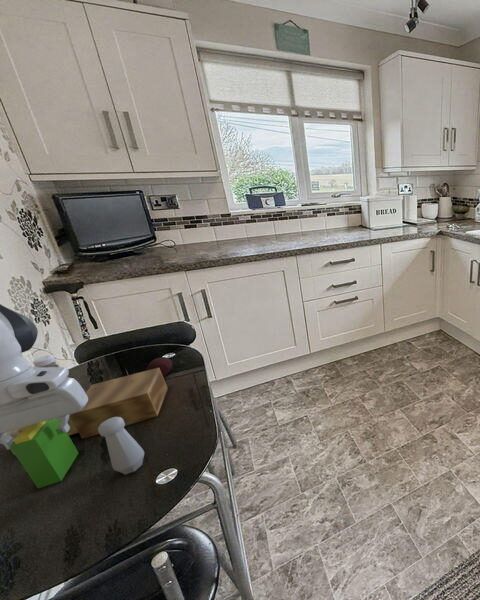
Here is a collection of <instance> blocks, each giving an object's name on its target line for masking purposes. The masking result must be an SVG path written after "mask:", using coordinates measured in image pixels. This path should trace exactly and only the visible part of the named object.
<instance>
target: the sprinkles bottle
mask: <svg viewBox="0 0 480 600" xmlns="http://www.w3.org/2000/svg"><path fill="white" fill-rule="evenodd" d="M32 364H33V365H34V366H33V367H47V366H51V365H58V364H57V361H56V358H55V356H54V355H53V354H48V355H44V356H43V355H42V356H40V357H38V358H36V359H33V361H32Z"/></svg>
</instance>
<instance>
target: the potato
mask: <svg viewBox="0 0 480 600" xmlns="http://www.w3.org/2000/svg"><path fill="white" fill-rule="evenodd" d="M155 368H160V371H161V373H162V375H163V378H165V377H166V376H167V375H168V374H169V373H170V372H171V370H172V369H173V360H171V359H170V358H168V357H165V356H161V357H156V358H154V359H153V360H151V361H150V362H149V363H148V365H147V367H146V370H145V371H148V370H151V369H155Z"/></svg>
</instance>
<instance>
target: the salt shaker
mask: <svg viewBox="0 0 480 600" xmlns="http://www.w3.org/2000/svg"><path fill="white" fill-rule="evenodd" d="M125 427H126V426H125V423H124V420H123V419H122V418H121V417H113V418H110V419H107V420H106V421H104V422H103V423H101V424H100V426H99V427H98V431H99V433H100V434H99V435H100V436H101V437H104V438H105V442H106V446H107V450H108V455H109V460H110V464H111V467H112V469H113V471H115V472H118V473H122V474H123V475H128V474H131V473H134V472H136V471H137V470H139V468H140V467H142V466H143V462H144V457H145V451H144V449H143V448H142V447H141V445H140V444H139V443H138V442H137V441H136V439H134V437H132V435H131V434H130V433H129V432H128V431H127V430H126V429H125Z"/></svg>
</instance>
